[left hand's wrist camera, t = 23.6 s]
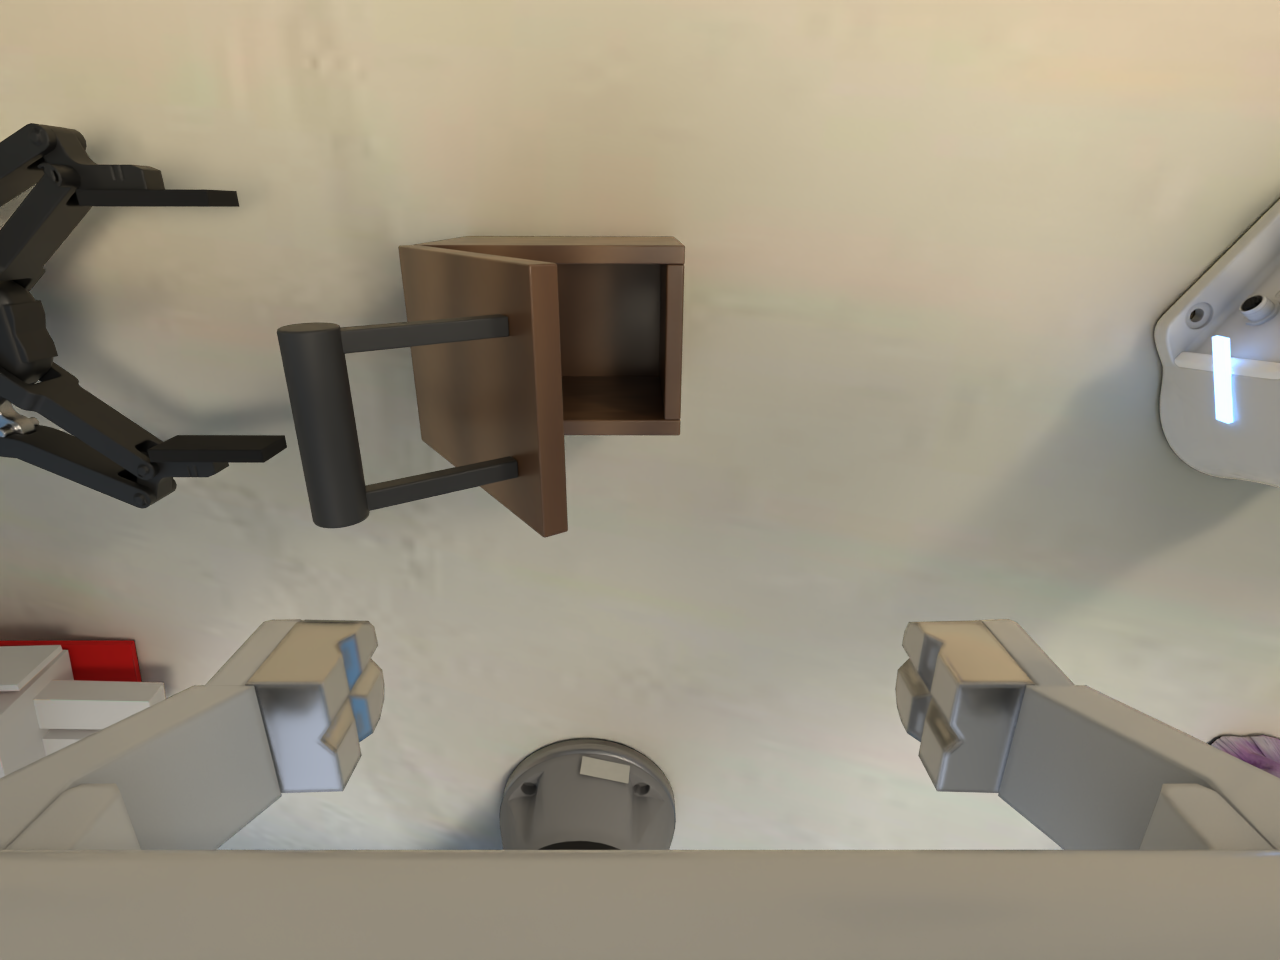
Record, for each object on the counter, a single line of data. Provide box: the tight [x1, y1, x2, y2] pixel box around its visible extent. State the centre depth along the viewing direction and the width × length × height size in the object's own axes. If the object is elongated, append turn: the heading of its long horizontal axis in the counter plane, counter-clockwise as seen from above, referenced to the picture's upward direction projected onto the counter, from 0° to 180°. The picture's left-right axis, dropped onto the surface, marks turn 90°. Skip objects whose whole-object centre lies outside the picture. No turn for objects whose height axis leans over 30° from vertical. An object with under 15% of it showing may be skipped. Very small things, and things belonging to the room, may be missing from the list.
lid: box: [277, 245, 568, 537], centre depth 27 cm, size 14×10×8 cm
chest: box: [415, 236, 685, 435], centre depth 40 cm, size 13×10×11 cm
